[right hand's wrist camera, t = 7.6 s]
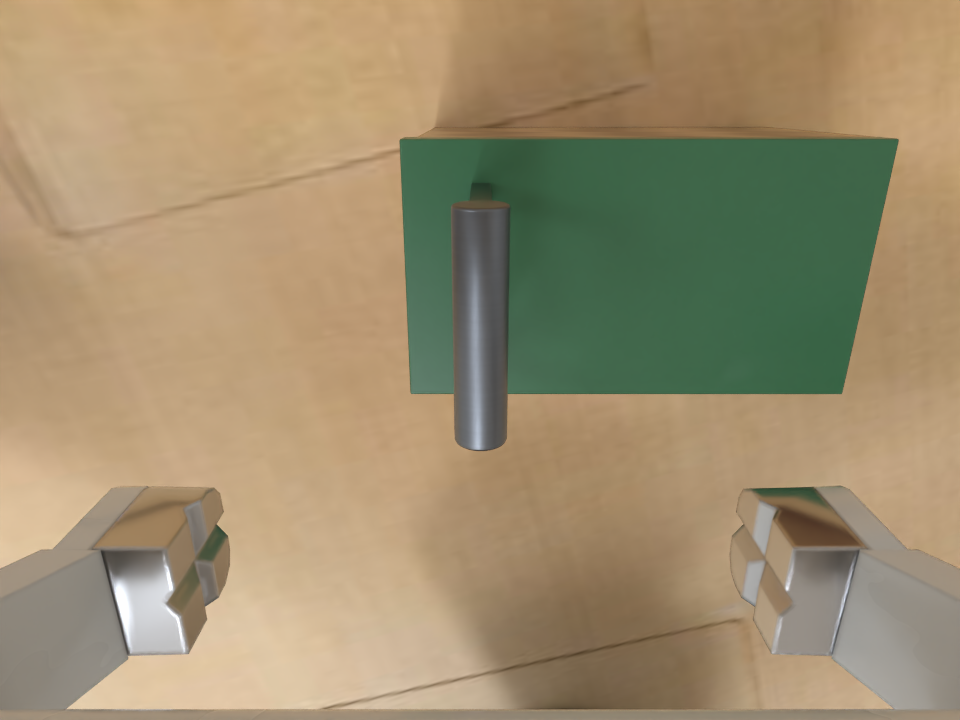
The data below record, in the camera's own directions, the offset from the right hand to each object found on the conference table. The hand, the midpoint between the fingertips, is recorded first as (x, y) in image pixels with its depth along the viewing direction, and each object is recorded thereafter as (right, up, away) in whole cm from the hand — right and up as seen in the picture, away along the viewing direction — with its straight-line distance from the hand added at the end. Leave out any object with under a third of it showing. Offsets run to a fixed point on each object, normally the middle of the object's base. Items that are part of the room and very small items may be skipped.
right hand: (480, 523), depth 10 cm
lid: (+6, +6, +16) cm, 18 cm away
